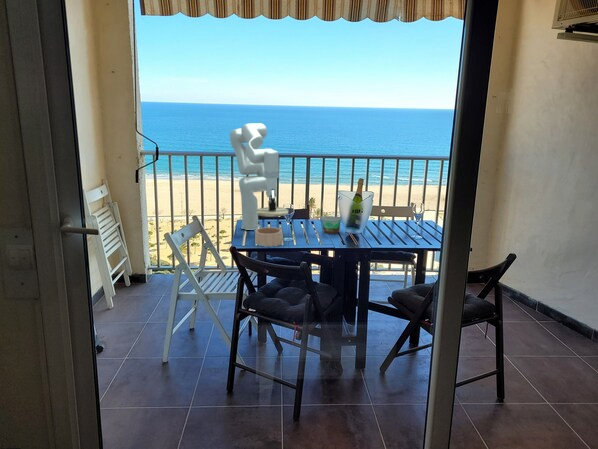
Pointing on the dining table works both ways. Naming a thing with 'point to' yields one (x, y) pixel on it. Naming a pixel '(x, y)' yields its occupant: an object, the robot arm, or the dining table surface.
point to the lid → (271, 211)
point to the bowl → (268, 236)
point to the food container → (331, 224)
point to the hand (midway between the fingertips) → (272, 208)
